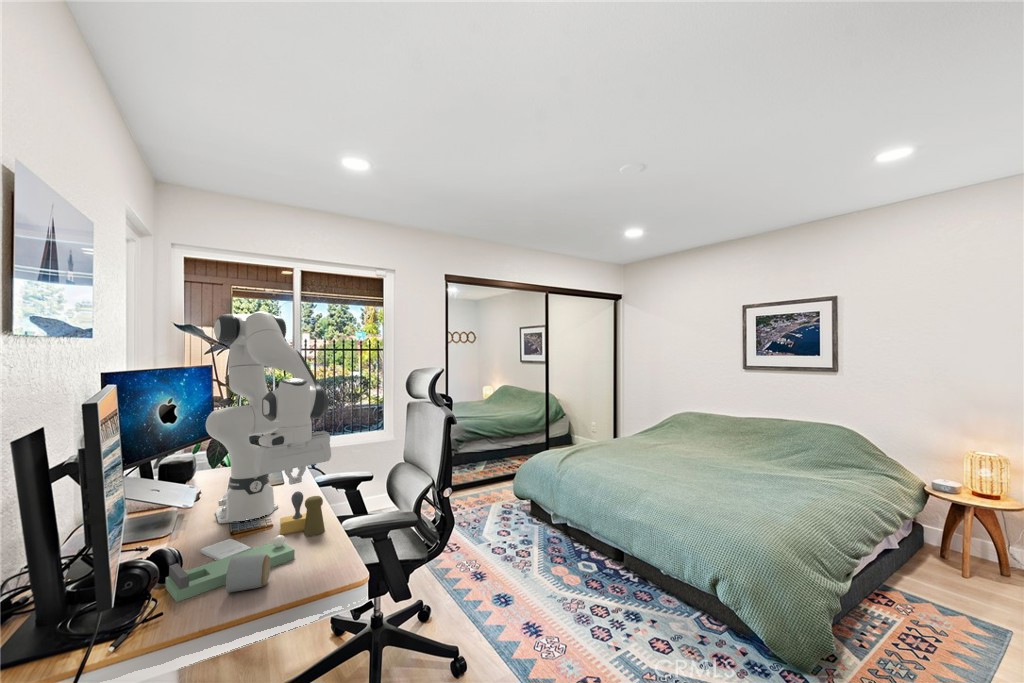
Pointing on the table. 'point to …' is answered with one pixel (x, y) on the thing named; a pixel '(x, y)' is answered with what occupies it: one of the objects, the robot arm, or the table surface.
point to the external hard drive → (224, 549)
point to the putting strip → (216, 572)
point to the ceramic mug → (247, 572)
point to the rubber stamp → (294, 517)
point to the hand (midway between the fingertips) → (295, 483)
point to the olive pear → (314, 516)
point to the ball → (279, 541)
